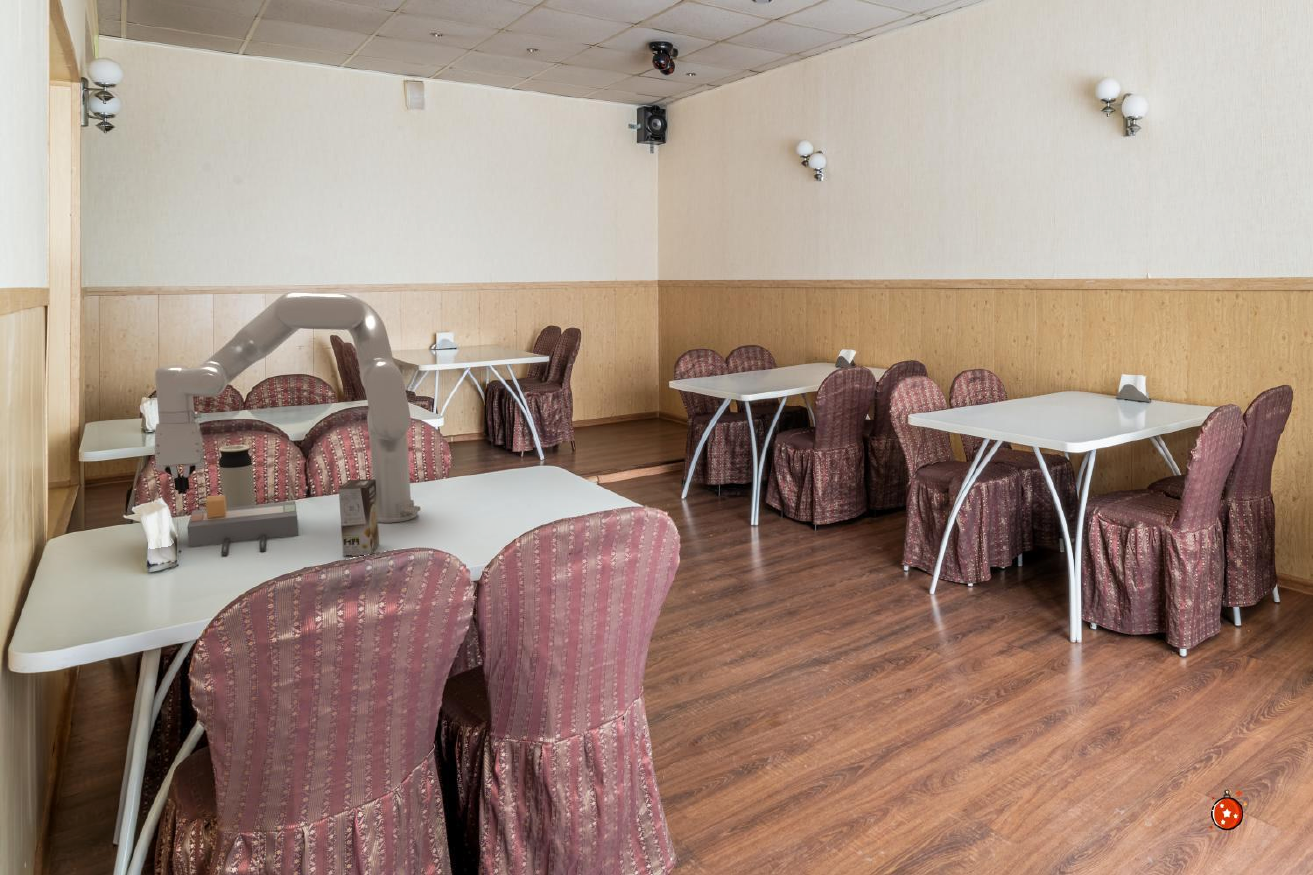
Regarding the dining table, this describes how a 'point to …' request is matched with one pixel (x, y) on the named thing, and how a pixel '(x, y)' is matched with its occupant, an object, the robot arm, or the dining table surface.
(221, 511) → the knob
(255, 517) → the box
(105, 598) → the dining table surface
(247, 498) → the travel mug
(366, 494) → the coffee box
